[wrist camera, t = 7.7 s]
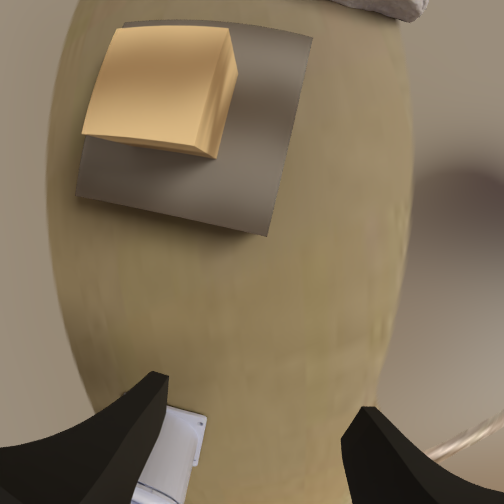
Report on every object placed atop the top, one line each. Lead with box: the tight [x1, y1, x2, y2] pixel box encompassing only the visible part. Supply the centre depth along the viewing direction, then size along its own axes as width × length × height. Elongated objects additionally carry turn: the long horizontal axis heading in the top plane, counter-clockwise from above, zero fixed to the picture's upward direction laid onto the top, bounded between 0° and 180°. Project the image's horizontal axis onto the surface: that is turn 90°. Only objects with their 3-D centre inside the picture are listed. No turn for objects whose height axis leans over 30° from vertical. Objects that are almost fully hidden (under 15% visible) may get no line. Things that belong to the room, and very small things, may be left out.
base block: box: [75, 20, 313, 237], centre depth 15 cm, size 12×12×3 cm
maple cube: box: [82, 26, 238, 159], centre depth 11 cm, size 5×5×5 cm
